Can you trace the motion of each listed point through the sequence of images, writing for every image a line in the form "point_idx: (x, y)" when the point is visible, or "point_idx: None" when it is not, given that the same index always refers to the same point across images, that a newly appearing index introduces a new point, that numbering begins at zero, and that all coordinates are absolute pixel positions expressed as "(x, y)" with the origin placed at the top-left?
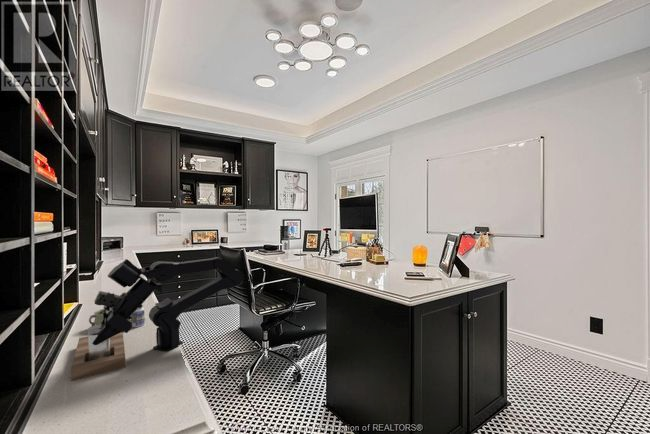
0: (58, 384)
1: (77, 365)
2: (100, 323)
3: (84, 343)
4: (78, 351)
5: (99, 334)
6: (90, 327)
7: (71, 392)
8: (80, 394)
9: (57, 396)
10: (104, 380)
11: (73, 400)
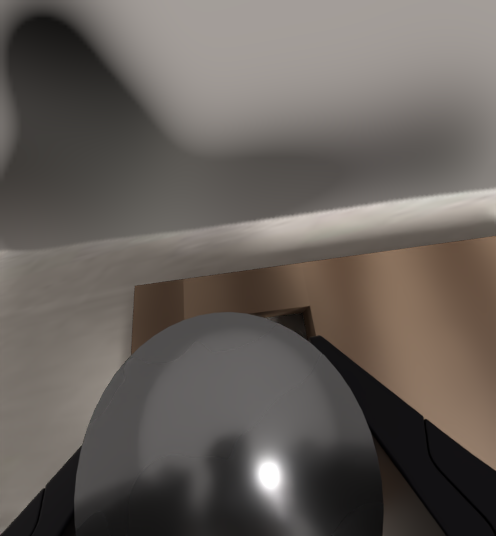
0: (157, 263)
1: (162, 301)
2: (455, 465)
3: (481, 269)
4: (355, 267)
5: (63, 467)
6: (264, 333)
7: (66, 315)
8: (29, 347)
9: (70, 282)
10: (78, 416)
11: (5, 333)
